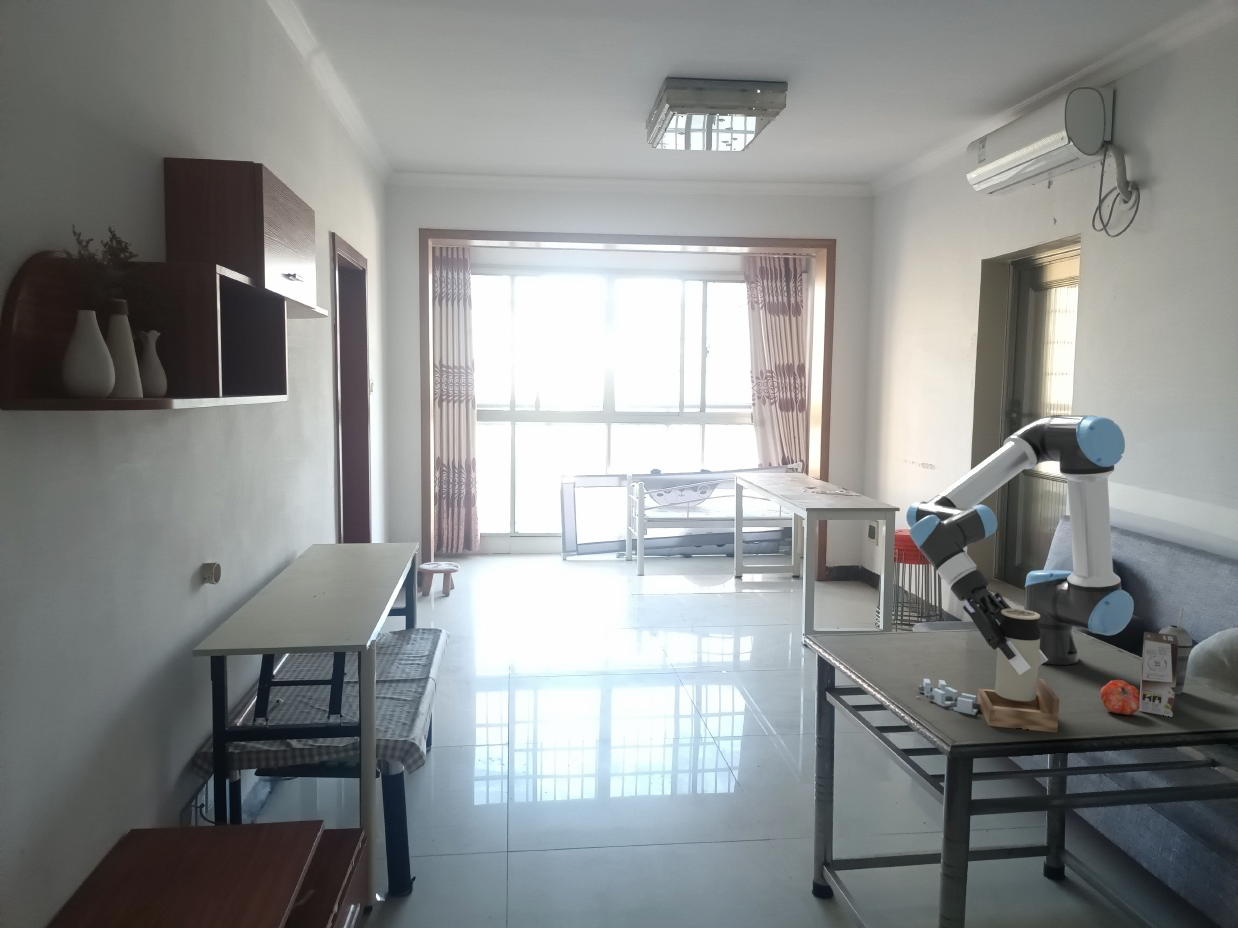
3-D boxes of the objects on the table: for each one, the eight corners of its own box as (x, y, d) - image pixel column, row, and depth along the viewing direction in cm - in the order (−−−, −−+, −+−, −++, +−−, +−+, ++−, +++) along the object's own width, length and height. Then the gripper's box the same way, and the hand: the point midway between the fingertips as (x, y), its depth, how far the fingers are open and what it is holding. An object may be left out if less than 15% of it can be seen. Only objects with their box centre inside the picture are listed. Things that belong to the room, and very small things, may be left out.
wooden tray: (1040, 709, 184) (1042, 678, 184) (1057, 732, 172) (1059, 698, 171) (977, 703, 187) (979, 673, 187) (988, 725, 175) (990, 692, 174)
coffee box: (1173, 717, 181) (1179, 644, 180) (1138, 711, 185) (1143, 639, 183) (1172, 705, 189) (1177, 634, 188) (1139, 699, 192) (1143, 630, 191)
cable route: (971, 693, 194) (972, 681, 194) (983, 715, 180) (983, 702, 180) (916, 688, 197) (917, 676, 196) (924, 709, 183) (924, 697, 183)
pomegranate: (1095, 715, 188) (1098, 699, 181) (1102, 685, 191) (1105, 668, 184) (1134, 726, 184) (1139, 710, 177) (1140, 695, 187) (1144, 678, 180)
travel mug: (1041, 704, 175) (1046, 618, 173) (1000, 700, 176) (1005, 616, 174) (1029, 691, 182) (1034, 609, 181) (990, 687, 184) (995, 606, 182)
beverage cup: (1150, 683, 204) (1156, 602, 202) (1186, 688, 200) (1192, 606, 199) (1154, 692, 197) (1160, 608, 195) (1191, 698, 194) (1198, 612, 192)
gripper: (973, 581, 196) (1040, 666, 185) (928, 593, 182) (998, 686, 171) (997, 562, 191) (1067, 648, 181) (953, 573, 178) (1026, 667, 167)
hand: (1033, 667), depth 176 cm, fingers closed on travel mug, 8 cm apart
